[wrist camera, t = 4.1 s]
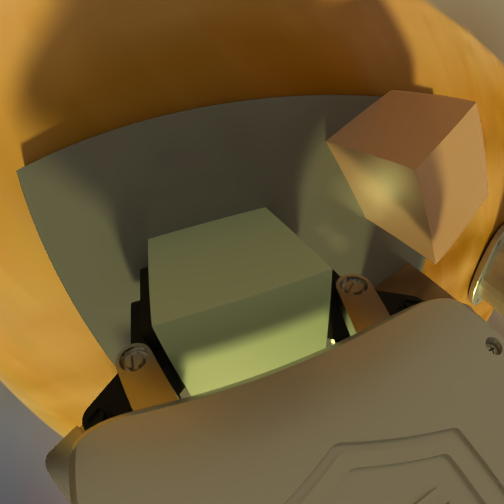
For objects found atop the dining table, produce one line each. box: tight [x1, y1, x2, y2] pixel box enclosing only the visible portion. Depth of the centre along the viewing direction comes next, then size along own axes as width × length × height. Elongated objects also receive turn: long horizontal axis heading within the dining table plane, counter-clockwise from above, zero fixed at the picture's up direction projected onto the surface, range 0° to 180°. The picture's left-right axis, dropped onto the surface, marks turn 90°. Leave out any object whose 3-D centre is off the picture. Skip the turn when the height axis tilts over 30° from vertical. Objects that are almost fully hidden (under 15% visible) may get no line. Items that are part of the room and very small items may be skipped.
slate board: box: [17, 95, 425, 366], centre depth 15 cm, size 22×20×1 cm
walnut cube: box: [374, 263, 456, 302], centre depth 16 cm, size 5×5×5 cm
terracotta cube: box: [326, 90, 488, 265], centre depth 10 cm, size 5×5×5 cm
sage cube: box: [148, 207, 332, 396], centre depth 10 cm, size 5×5×5 cm
